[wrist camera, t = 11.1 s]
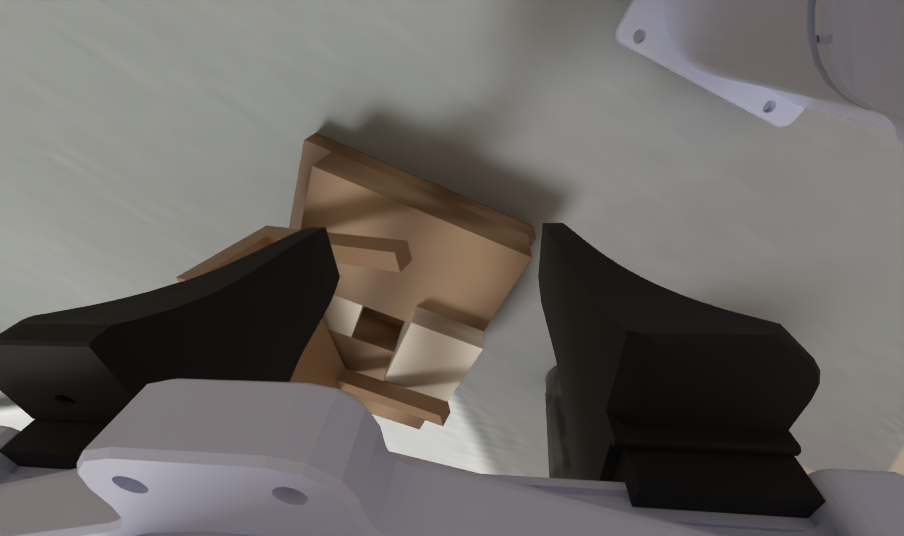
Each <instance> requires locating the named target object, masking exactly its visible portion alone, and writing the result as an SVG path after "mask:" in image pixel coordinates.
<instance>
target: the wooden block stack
mask: <svg viewBox="0 0 904 536" xmlns="http://www.w3.org/2000/svg"><path fill="white" fill-rule="evenodd" d="M309 227H326V230H327V232H330V233H339V234H349V235H358V236H368V237H377V238H386V239H396V240H405V241H408V245H409V249H410V253H411V257H412V261H411V262H410V263H409V264H408V265H407V266H406V267H405V268H404V269H403V270H402V271H401V272H393V271H387V270H380V269H374V268H367V267H361V266H354V265H348V264H341V263H336V265H337V268H338V272H339V275H340V279H339V282H338V285H337V288H336V290H335V293H334V296H333V298H332V301H331V303H330V304H329V306H328V308H327V310H326V312H325V314H324V316H323V317H322V318H323V320H324V322H325V324H326V327H327V329H328V331H329V333H330V335H331V338H332V340H333V342H334V344H335V346H336V349H337V351H338V353H339V355H340V357H341V360H342V362H343V364H344V366H345V368H346V369H348V370H351V371H354V372H357V373H360V374H363V375H367V376H370V377H373V378H376V379H379V380H382V381H385V382H388V383H391V384H394V385H398V386H401V387H404V388H407V389H410V390H413V391H416V392H419V393H422V394H425V395H429V396H432V397H435V398H438V399H441V400H444V401H448V400H449V398H450V397H451V395H452V394H453V392H454V391H455V389H456V388H457V387H458V385H459V384H460V382H461V381H462V379H463V378H464V376H465V375H466V373H467V372H468V370H469V369H470V367H471V366H472V365H473V363H474V362H475V360H476V359H477V357H478V356H479V354H480V353H481V351H482V350H483V334H484V330H485V328H486V327H487V325H488V324H489V322H490V321H491V319H492V318H493V316H494V315H495V313H496V312H497V310H498V308H499V307H500V305H501V304H502V302H503V301H504V299H505V298H506V296H507V295H508V293H509V292H510V290H511V289H512V287H513V286H514V284H515V283H516V281H517V279H518V278H519V276H520V275H521V273H522V272H523V270H524V269H525V267H526V266H527V264H528V263H529V261H530V260H531V258H532V255H531V249H530V246H531V245H532V243H533V241H534V240H535V234H534V229H533V226H530V225H528V224H526V223H523V222H521V221H519V220H516V219H514V218H512V217H509V216H507V215H505V214H502V213H500V212H498V211H495V210H493V209H491V208H488V207H486V206H484V205H481V204H479V203H477V202H474V201H472V200H470V199H467V198H465V197H463V196H461V195H458V194H456V193H454V192H451V191H449V190H447V189H444V188H442V187H440V186H437V185H435V184H433V183H430V182H428V181H426V180H423V179H421V178H419V177H416V176H414V175H412V174H409V173H407V172H405V171H402V170H400V169H398V168H395V167H393V166H391V165H388V164H386V163H384V162H382V161H379V160H377V159H375V158H372V157H370V156H368V155H365V154H363V153H361V152H358V151H356V150H354V149H351V148H349V147H347V146H344V145H342V144H340V143H337V142H335V141H333V140H330V139H328V138H326V137H323V136H321V135H319V134H316V133H315V134H313V135H312V136H310V137H308V138H307V139H305V140H304V144H303V150H302V156H301V162H300V168H299V174H298V179H297V185H296V191H295V197H294V203H293V209H292V214H291V220H290V226H289V228H292V229H302V230H303V229H306V228H309ZM341 391H343V392H345V393H346V394H348V395H350V396H352V397H353V398H355V399H357V400H359V401H360V402H362V403H363V404H364V405H365V406H366V408H367V409H368V410H369V412H370V413H371V414H374V415H377V416H380V417H383V418H386V419H389V420H392V421H395V422H399V423H402V424H405V425H408V426H411V427H414V428H417V429H420V427H421V426H422V424H423V423H424V421H425V420H424V419H422V418H419V417H416V416H413V415H410V414H408V413H405V412H402V411H399V410H397V409H394V408H391V407H388V406H385V405H383V404H380V403H377V402H374V401H371V400H369V399H366V398H363V397H360V396H358V395H355V394H352V393H349V392H346V391H344V390H341Z"/></svg>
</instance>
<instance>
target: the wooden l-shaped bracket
mask: <svg viewBox="0 0 904 536" xmlns="http://www.w3.org/2000/svg"><path fill="white" fill-rule="evenodd" d="M300 230H302V229H292V228H283V227H273V226H265V227H263V228H262V229H260V230H258V231H256V232H255V233H253V234H251V235H249V236H248V237H246V238H244V239H242V240H241V241H239V242H237V243H235V244H234V245H232V246H230V247H228V248H227V249H225V250H223V251H221V252H220V253H218V254H216V255H214V256H213V257H211V258H209V259H207V260H206V261H204V262H202V263H201V264H199V265H197V266H195V267H194V268H192V269H190V270H188V271H187V272H185V273H183V274H181V275H180V276H178V277H176V278H177V279H178V281H179V282H182V281H185V280H188V279H191V278H194V277H197V276H199V275H202V274H205V273H208V272H210V271H213V270H215V269H218V268H220V267H223V266H225V265H227V264H229V263H232V262H234V261H236V260H238V259H240V258H243V257H245V256H247V255H249V254H251V253H253V252H256V251H258V250H260V249H262V248H264V247H266V246H268V245H270V244H272V243H274V242H276V241H278V240H280V239H282V238H284V237H286V236H288V235H291V234H293V233H295V232H297V231H300ZM327 233H328V237H329V240H330V244H331V247H332V251H333V254H334V258H335V261H336V263H341V264H348V265H354V266H361V267H367V268H374V269H380V270H387V271H393V272H401V271H402V270H403V269H404V268H405V267H406V266H407V265H408V264H409V263H410V262H411V261H412V257H411V253H410V249H409V245H408V241H405V240H396V239H386V238H377V237H368V236H358V235H349V234H339V233H330V232H327ZM290 382H300V383H312V384H317V385H322V386H327V387H332V388H337V389H339V390H344V391H346V392H349V393H352V394H355V395H358V396H360V397H363V398H366V399H369V400H371V401H374V402H377V403H380V404H383V405H385V406H388V407H391V408H394V409H397V410H399V411H402V412H405V413H408V414H410V415H413V416H416V417H419V418H422V419H424V420H427V421H430V422H433V423H436V424H438V425H441V426H443V425H444V423H445V421H446V419H447V418H448V416H449V414H450V409H449V405H448V402H447V401H444V400H441V399H438V398H435V397H432V396H429V395H425V394H422V393H419V392H416V391H413V390H410V389H407V388H404V387H401V386H398V385H394V384H391V383H388V382H385V381H382V380H379V379H376V378H373V377H370V376H367V375H363V374H360V373H357V372H354V371H351V370H348V369H346V368H345V366H344V364H343V362H342V360H341V357H340V355H339V353H338V351H337V349H336V346H335V344H334V342H333V340H332V338H331V335H330V333H329V331H328V329H327V327H326V324H325V322H324V320H323V318H322V319H321V321H320V323H319V324H318V326H317V328H316V330H315V332H314V333H313V335H312V337H311V339H310V340H309V342H308V344H307V346H306V348H305V349H304V351H303V353H302V355H301V357H300V359H299V361H298V363H297V366H296V368H295V370H294V373H293V375H292V378H291V380H290Z"/></svg>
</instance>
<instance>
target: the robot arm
mask: <svg viewBox="0 0 904 536" xmlns="http://www.w3.org/2000/svg"><path fill="white" fill-rule="evenodd" d="M639 29H641V30H642V31H643V37H642V39H641V40H640V41H639V42H638V43H635V42H634V41H633V36H634V33H635V32H636V31H637V30H639ZM615 37H616V40H617V41H618V42H619V43H620V44H622V45H624V46H626V47H627V48H629V49H631V50H633V51H635V52H637V53H639V54H641V55H642V56H644V57H646V58H648V59H650V60H652V61H654V62H656V63H658V64H659V65H661V66H663V67H665V68H667V69H669V70H671V71H673V72H674V73H676V74H678V75H680V76H682V77H684V78H686V79H688V80H689V81H691V82H693V83H695V84H697V85H699V86H701V87H703V88H704V89H706V90H708V91H710V92H712V93H714V94H716V95H718V96H719V97H721V98H723V99H725V100H727V101H729V102H731V103H733V104H734V105H736V106H738V107H740V108H742V109H744V110H746V111H748V112H749V113H751V114H753V115H755V116H757V117H759V118H761V119H763V120H765V121H766V122H768V123H770V124H772V125H775V126H778V127H785V126H787V125H789V124H791V123H792V122H793V121H795V120H796V118H797V117H798V116H799V115H800V114H801V113H802V112H803V111H804V110H805V109H806V108H808V109H812V110H816V111H820V112H823V113H827V114H831V115H835V116H839V117H843V118H847V119H851V120H854V121H858V122H862V123H866V124H870V125H874V126H878V127H882V128H886V129H889V130H893V131H896V133H897V138H898V141H899V142H900V143H904V0H631V2H630V4H629V6H628V8H627V9H626V11H625V13H624V15H623V16H622V18H621V20H620V22H619V23H618V25H617V28H616V30H615ZM768 101H771V105H770V106H769V108H768V109H766V110H765V111H763V107H764V105H765V104H766V103H767V102H768ZM538 277H539V287H540V296H541V303H542V307H543V311H544V315H545V318H546V322H547V326H548V330H549V334H550V338H551V341H552V345H553V349H554V353H555V357H556V361H557V366H558V372H559V379H560V386H561V393H562V400H563V408H564V416H565V423H566V431H567V440H568V449H569V457H570V466H571V476H572V479H558V478H541V477H524V476H507V475H490V474H479V473H475V472H471V471H467V470H463V469H459V468H455V467H451V466H447V465H443V464H439V463H434V462H430V461H426V460H422V459H418V458H414V457H410V456H406V455H402V454H398V453H394V452H389V451H388V449H387V448H386V445H385V442H384V438H383V435H382V431H381V428H380V426H379V424H378V423H377V421H376V420H375V419H374V417H373V416H372V414H371V413H370V412H369V410H368V409H367V408H366V406H365V405H364V404H363V403H362V402H360V401H359V400H357V399H355V398H353V397H352V396H350V395H348V394H346V393H345V392H343V391H341V390H339V389H337V388H332V387H327V386H322V385H317V384H312V383H300V382H290V380H291V378H292V375H293V373H294V370H295V368H296V366H297V363H298V361H299V359H300V357H301V355H302V353H303V351H304V349H305V348H306V346H307V344H308V342H309V340H310V339H311V337H312V335H313V333H314V332H315V330H316V328H317V326H318V324H319V323H320V321H321V319H322V317H323V316H324V314H325V312H326V310H327V308H328V306H329V304H330V303H331V301H332V298H333V296H334V293H335V290H336V288H337V285H338V282H339V279H340V275H339V272H338V268H337V265H336V261H335V258H334V254H333V251H332V247H331V244H330V240H329V237H328V233H327V230H326V227H309V228H306V229H303V230H300V231H297V232H295V233H293V234H291V235H288V236H286V237H284V238H282V239H280V240H278V241H276V242H274V243H272V244H270V245H268V246H266V247H264V248H262V249H260V250H258V251H256V252H253V253H251V254H249V255H247V256H245V257H243V258H240V259H238V260H236V261H234V262H232V263H229V264H227V265H225V266H223V267H220V268H218V269H215V270H213V271H210V272H208V273H205V274H202V275H199V276H197V277H194V278H191V279H188V280H185V281H182V282H179V283H176V284H172V285H169V286H166V287H163V288H159V289H156V290H153V291H150V292H146V293H142V294H138V295H134V296H130V297H126V298H122V299H118V300H114V301H109V302H105V303H100V304H95V305H91V306H85V307H80V308H74V309H69V310H63V311H58V312H52V313H47V314H41V315H35V316H31V317H28V318H26V319H23V320H21V321H19V322H18V323H16V324H15V325H13V326H12V327H10V328H8V329H7V330H5V331H4V332H2V333H0V390H1V391H2V392H3V393H4V394H5V395H6V396H8V397H9V398H10V399H11V400H12V401H13V402H14V403H16V404H17V405H18V406H19V407H20V408H21V409H23V410H24V411H25V412H26V413H27V414H28V415H29V416H31V417H32V418H33V419H35V420H33V421H32V422H31V423H30V424H29V425H28V426H26V427H25V428H24V429H23V430H22V431H21V432H20V431H19V430H16V429H14V428H11V427H6V426H0V536H904V476H903V475H902V474H898V473H895V472H884V471H864V470H845V469H825V470H819V471H816V472H812V473H810V474H809V475H807V474H806V472H805V471H804V469H803V468H802V467H801V465H800V464H799V462H798V461H797V459H796V458H795V457H794V456H798V455H799V454H800V453H801V447H800V445H799V444H798V442H797V441H796V440H795V438H794V437H793V436H792V434H791V433H790V432H789V429H790V427H791V426H792V425H793V423H794V422H795V421H796V419H797V418H798V417H799V415H800V414H801V413H802V411H803V410H804V409H805V407H806V406H807V405H808V403H809V402H810V401H811V399H812V398H813V396H814V394H815V392H816V390H817V388H818V386H819V384H820V369H819V367H818V365H817V363H816V362H815V360H814V358H813V357H812V356H811V355H810V354H809V353H808V352H807V351H806V350H805V349H804V348H803V347H802V346H801V345H800V344H799V343H798V342H797V341H796V340H795V339H794V338H793V337H792V336H791V334H790V333H789V332H788V331H787V330H786V329H785V328H784V327H783V326H782V325H781V324H778V323H774V322H770V321H766V320H763V319H759V318H755V317H751V316H747V315H743V314H739V313H735V312H731V311H728V310H724V309H721V308H718V307H715V306H712V305H709V304H706V303H703V302H700V301H697V300H694V299H691V298H688V297H686V296H683V295H680V294H678V293H675V292H673V291H671V290H668V289H666V288H664V287H661V286H659V285H657V284H654V283H652V282H650V281H648V280H646V279H644V278H642V277H640V276H638V275H636V274H635V273H633V272H631V271H629V270H627V269H625V268H624V267H622V266H620V265H619V264H617V263H616V262H614V261H613V260H611V259H610V258H608V257H606V256H605V255H604V254H602V253H601V252H599V251H598V250H597V249H595V248H594V247H593V246H591V245H590V244H589V243H587V242H586V241H585V240H583V239H582V238H581V237H580V236H579V235H577V234H576V233H575V232H574V231H572V230H571V229H570V228H569V227H567V226H566V225H565V224H563V223H543V226H542V238H541V251H540V263H539V276H538Z"/></svg>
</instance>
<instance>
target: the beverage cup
mask: <svg viewBox="0 0 904 536" xmlns="http://www.w3.org/2000/svg"><path fill="white" fill-rule="evenodd" d="M545 395H546V416H547V436H548V457H549V478H558V479H572V476H571V466H570V457H569V449H568V440H567V431H566V423H565V416H564V408H563V400H562V393H561V386H560V379H559V372H558V366H556V367H554V368H552V369H551V370H550V371H549V372H548V374H547V376H546V394H545Z"/></svg>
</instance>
